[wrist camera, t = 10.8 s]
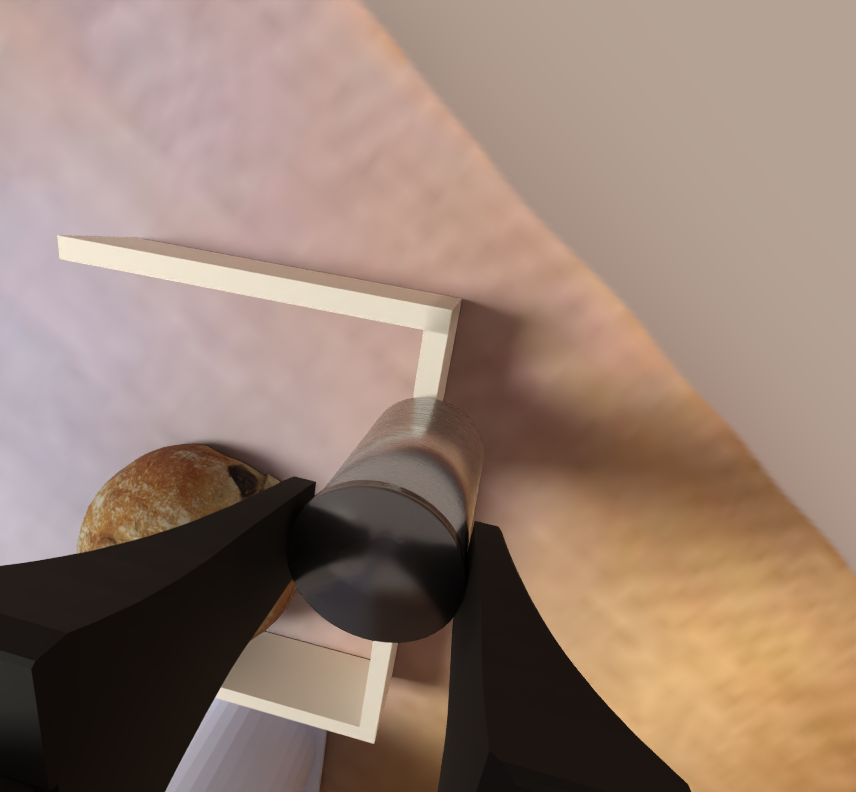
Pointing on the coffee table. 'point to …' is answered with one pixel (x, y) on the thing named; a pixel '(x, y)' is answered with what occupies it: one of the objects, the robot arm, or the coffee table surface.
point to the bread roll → (172, 499)
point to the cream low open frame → (438, 316)
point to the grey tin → (393, 526)
